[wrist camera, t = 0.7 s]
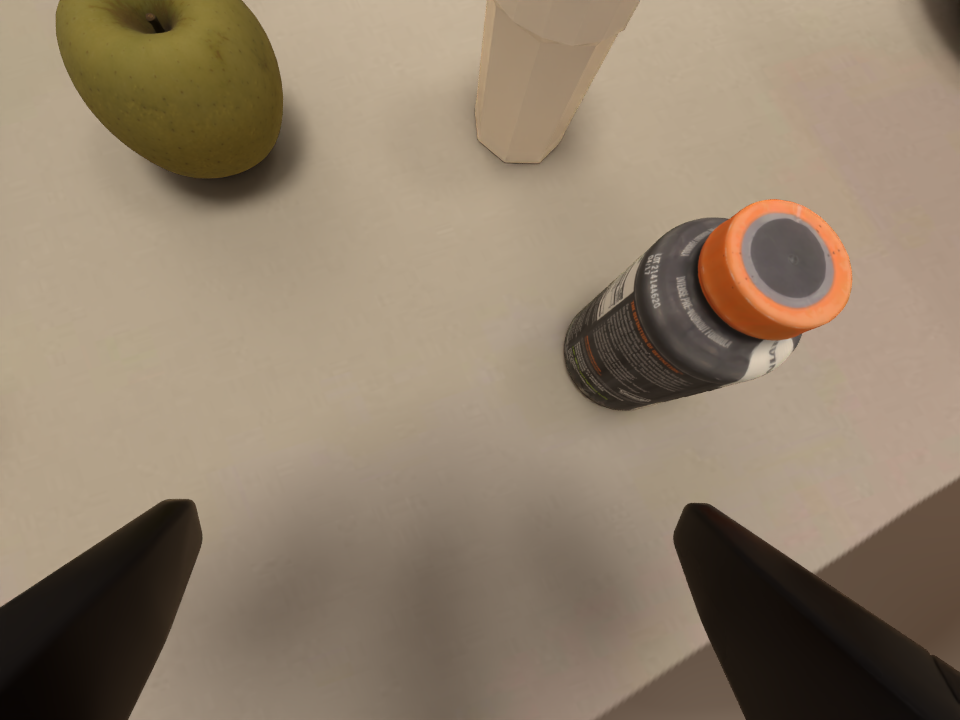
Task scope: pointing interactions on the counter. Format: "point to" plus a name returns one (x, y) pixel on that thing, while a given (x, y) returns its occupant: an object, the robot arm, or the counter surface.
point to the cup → (540, 69)
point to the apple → (176, 79)
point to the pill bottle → (709, 306)
